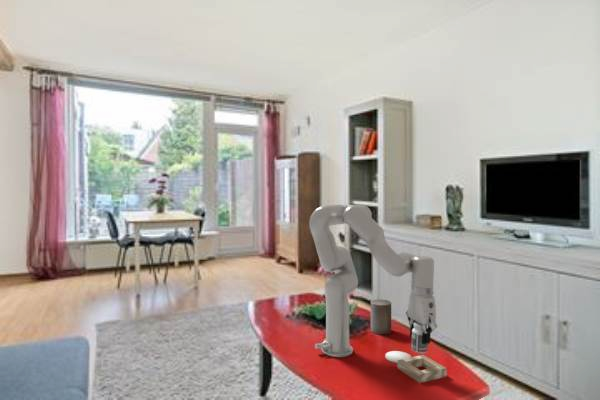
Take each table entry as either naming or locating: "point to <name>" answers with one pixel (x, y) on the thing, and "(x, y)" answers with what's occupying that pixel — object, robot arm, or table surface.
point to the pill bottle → (418, 339)
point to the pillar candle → (381, 316)
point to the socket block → (428, 374)
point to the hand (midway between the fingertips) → (419, 339)
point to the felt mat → (396, 356)
